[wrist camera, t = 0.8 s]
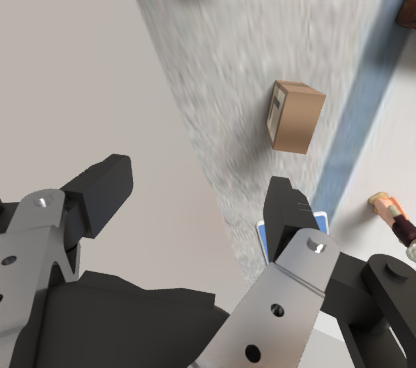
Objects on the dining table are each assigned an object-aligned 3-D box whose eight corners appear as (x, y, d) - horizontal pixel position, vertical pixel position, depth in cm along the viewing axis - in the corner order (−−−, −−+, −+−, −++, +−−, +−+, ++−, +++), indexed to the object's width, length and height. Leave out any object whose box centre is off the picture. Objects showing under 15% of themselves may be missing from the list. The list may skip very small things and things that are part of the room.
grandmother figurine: (403, 209, 36) (470, 275, 26) (379, 220, 38) (432, 287, 27) (379, 178, 34) (442, 236, 23) (355, 192, 36) (403, 252, 25)
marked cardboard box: (275, 80, 29) (287, 91, 21) (302, 83, 29) (326, 95, 21) (265, 124, 33) (272, 149, 24) (289, 127, 32) (305, 154, 24)
